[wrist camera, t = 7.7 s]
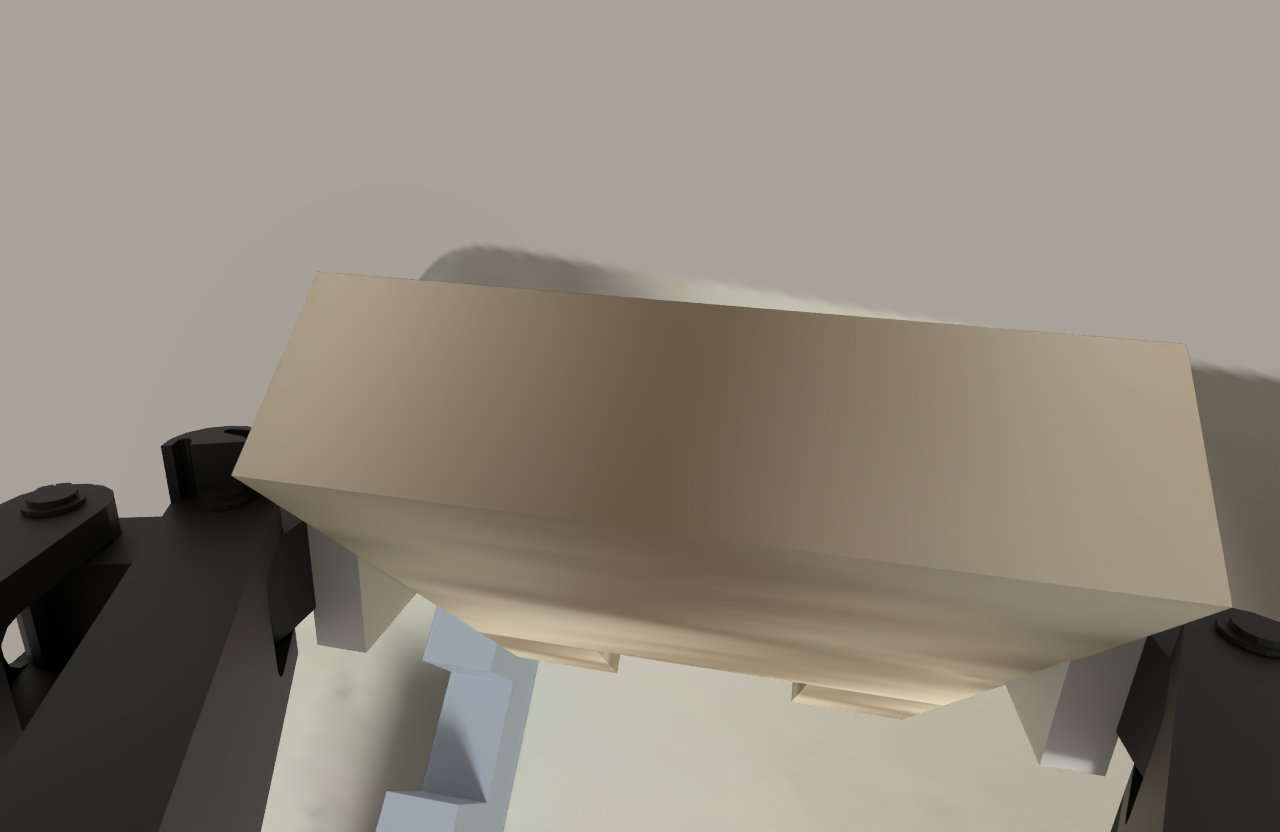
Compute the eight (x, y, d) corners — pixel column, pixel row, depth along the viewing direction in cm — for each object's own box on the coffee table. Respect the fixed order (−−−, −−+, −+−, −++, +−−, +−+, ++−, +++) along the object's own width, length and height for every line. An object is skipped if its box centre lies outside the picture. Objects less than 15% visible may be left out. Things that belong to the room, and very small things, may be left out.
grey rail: (578, 468, 35) (550, 411, 30) (440, 1131, 25) (360, 1227, 19) (527, 462, 35) (491, 405, 30) (371, 1112, 25) (274, 1201, 20)
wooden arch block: (903, 608, 18) (1186, 343, 7) (901, 719, 17) (1231, 606, 6) (541, 557, 19) (318, 271, 8) (518, 657, 18) (231, 475, 7)
